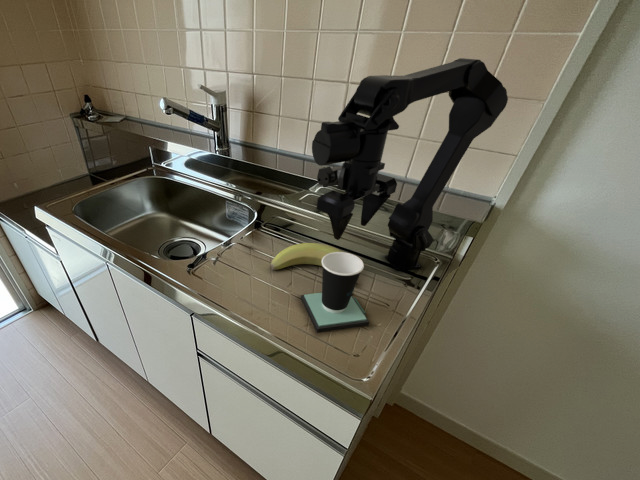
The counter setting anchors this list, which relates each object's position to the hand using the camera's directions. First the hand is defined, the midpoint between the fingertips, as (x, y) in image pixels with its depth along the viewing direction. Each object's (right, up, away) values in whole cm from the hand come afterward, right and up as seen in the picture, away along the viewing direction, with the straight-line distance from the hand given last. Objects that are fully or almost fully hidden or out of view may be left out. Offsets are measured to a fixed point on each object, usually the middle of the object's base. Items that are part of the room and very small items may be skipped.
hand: (350, 231), depth 73 cm
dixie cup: (-4, -16, -1) cm, 17 cm away
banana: (-5, -8, +11) cm, 15 cm away
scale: (-4, -17, 0) cm, 18 cm away
